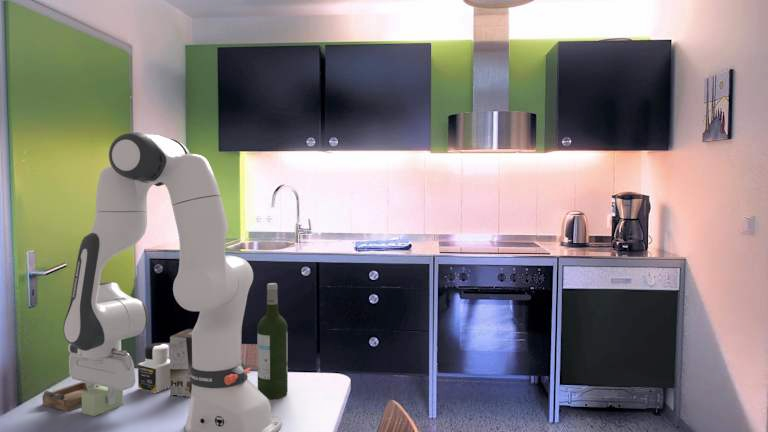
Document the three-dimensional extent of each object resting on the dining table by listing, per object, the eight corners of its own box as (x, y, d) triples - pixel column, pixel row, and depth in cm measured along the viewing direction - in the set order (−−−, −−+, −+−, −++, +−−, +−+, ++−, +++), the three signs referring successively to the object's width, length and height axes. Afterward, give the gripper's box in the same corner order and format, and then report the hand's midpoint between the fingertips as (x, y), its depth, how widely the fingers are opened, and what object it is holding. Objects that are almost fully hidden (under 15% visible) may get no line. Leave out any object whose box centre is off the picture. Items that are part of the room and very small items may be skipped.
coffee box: (191, 397, 144) (190, 337, 144) (169, 395, 146) (168, 336, 145) (208, 385, 153) (208, 329, 153) (188, 384, 155) (187, 327, 154)
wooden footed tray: (107, 396, 145) (107, 382, 145) (66, 412, 134) (65, 397, 134) (82, 390, 149) (82, 377, 149) (40, 405, 139) (40, 390, 139)
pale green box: (122, 404, 139) (122, 385, 139) (94, 416, 132) (93, 395, 132) (110, 401, 141) (110, 382, 141) (81, 412, 134) (81, 392, 134)
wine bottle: (293, 391, 149) (293, 282, 148) (276, 401, 142) (275, 287, 141) (269, 387, 152) (269, 280, 151) (251, 396, 145) (250, 284, 144)
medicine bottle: (137, 389, 151) (137, 346, 150) (159, 381, 157) (158, 340, 156) (155, 393, 147) (155, 349, 147) (176, 385, 154) (176, 343, 153)
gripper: (141, 348, 134) (142, 403, 135) (86, 338, 143) (87, 390, 144) (119, 355, 129) (120, 413, 129) (63, 344, 138) (64, 398, 138)
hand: (102, 401), depth 137 cm, fingers closed on pale green box, 4 cm apart
